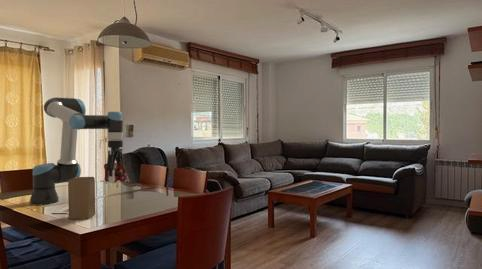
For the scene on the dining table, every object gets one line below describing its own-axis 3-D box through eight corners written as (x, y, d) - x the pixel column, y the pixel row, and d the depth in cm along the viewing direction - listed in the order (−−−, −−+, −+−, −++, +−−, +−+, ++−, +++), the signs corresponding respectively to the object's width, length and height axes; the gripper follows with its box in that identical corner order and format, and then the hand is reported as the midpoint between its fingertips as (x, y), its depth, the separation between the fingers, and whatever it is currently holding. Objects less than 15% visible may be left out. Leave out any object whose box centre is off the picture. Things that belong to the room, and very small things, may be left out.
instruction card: (51, 214, 178) (51, 213, 178) (69, 206, 196) (69, 205, 196) (75, 213, 178) (75, 212, 178) (91, 205, 196) (91, 205, 196)
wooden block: (76, 214, 176) (75, 176, 175) (96, 214, 176) (95, 176, 176) (68, 220, 166) (67, 179, 165) (89, 219, 166) (88, 179, 166)
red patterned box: (129, 180, 186) (129, 162, 185) (107, 183, 176) (107, 164, 176) (123, 179, 190) (122, 161, 190) (101, 182, 181) (101, 163, 181)
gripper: (113, 141, 171) (114, 184, 172) (129, 139, 194) (129, 177, 195) (99, 141, 171) (99, 184, 172) (116, 139, 194) (116, 177, 195)
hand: (115, 180), depth 183 cm, fingers closed on red patterned box, 11 cm apart
